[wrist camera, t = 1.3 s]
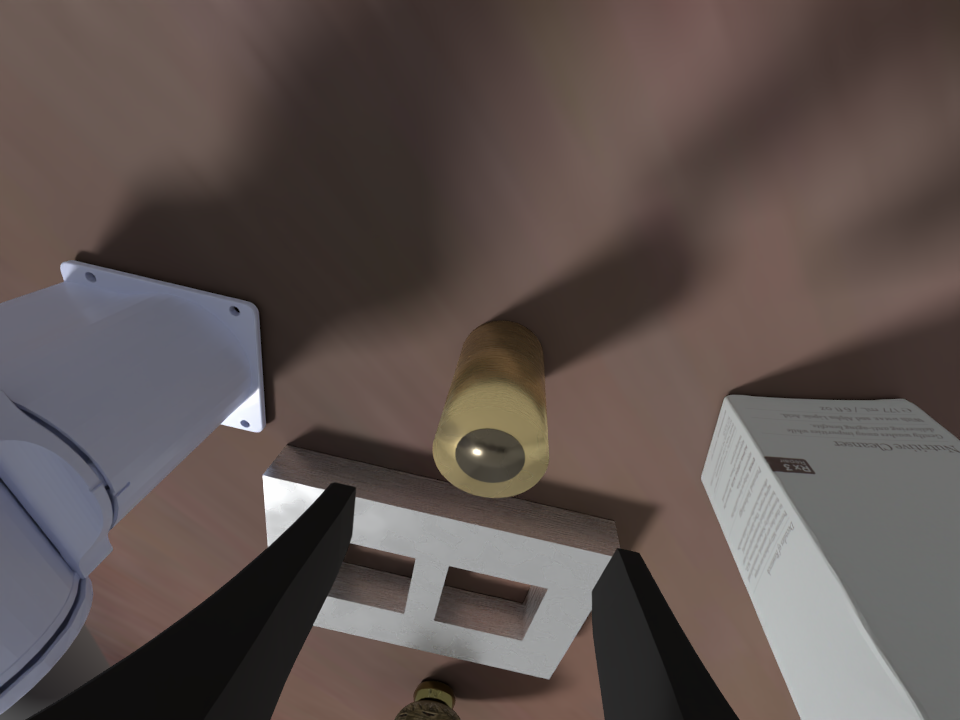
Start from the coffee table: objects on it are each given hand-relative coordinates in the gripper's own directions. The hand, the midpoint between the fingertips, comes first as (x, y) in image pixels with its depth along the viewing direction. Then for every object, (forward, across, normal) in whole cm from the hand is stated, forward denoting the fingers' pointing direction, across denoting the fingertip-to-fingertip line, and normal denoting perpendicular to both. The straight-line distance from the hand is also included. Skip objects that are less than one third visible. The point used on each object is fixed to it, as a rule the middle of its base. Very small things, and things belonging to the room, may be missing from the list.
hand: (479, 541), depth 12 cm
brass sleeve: (+10, 0, 0) cm, 10 cm away
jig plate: (+10, +1, +16) cm, 19 cm away
